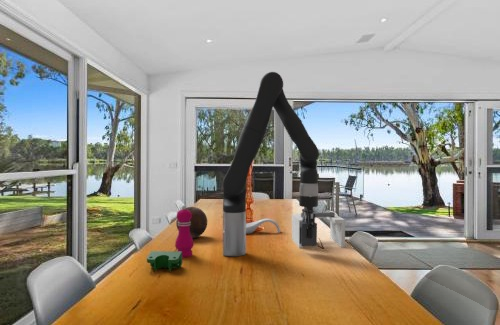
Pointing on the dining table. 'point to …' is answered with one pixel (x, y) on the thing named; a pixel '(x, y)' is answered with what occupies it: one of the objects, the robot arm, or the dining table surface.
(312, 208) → the robot arm
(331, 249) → the dining table surface
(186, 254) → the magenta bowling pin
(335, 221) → the white channel bracket
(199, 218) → the wooden sphere
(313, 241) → the gray u-channel post
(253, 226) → the white curved piece
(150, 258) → the clamp
